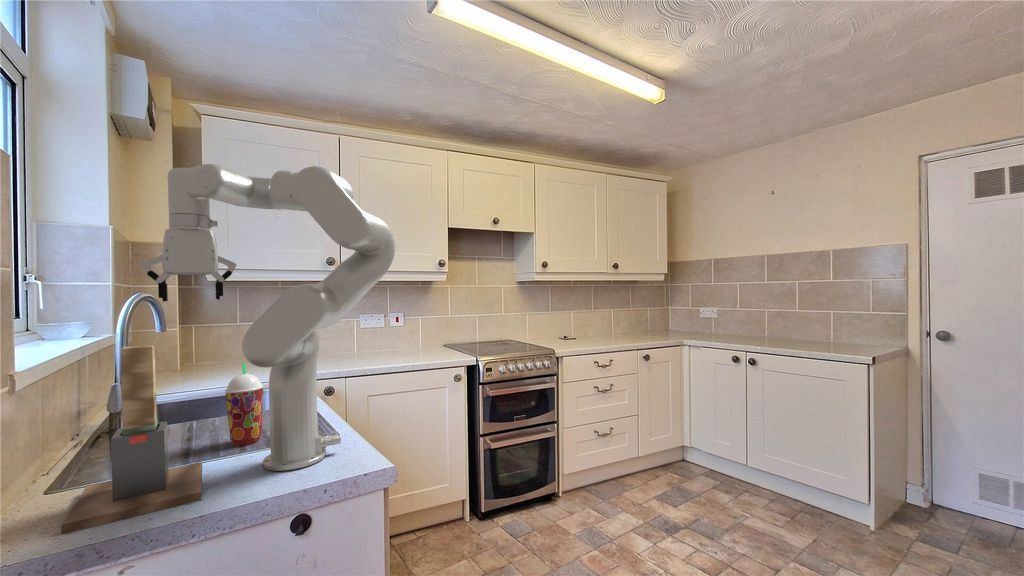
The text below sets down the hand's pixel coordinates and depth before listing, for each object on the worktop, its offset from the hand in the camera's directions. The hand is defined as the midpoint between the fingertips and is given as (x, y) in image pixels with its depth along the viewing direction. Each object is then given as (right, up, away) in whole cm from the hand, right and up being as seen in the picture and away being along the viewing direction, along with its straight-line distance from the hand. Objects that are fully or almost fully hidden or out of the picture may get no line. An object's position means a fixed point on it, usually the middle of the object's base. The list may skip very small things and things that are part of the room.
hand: (192, 300), depth 99 cm
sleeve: (+3, -35, -17) cm, 39 cm away
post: (+3, -26, -17) cm, 31 cm away
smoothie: (+5, -36, +12) cm, 39 cm away
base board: (+3, -36, -17) cm, 40 cm away
